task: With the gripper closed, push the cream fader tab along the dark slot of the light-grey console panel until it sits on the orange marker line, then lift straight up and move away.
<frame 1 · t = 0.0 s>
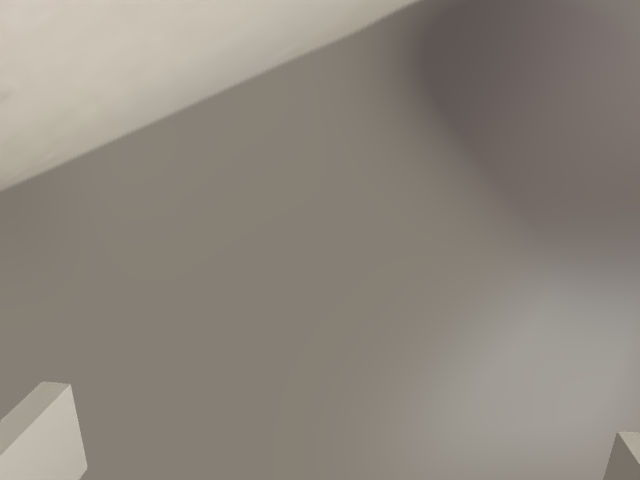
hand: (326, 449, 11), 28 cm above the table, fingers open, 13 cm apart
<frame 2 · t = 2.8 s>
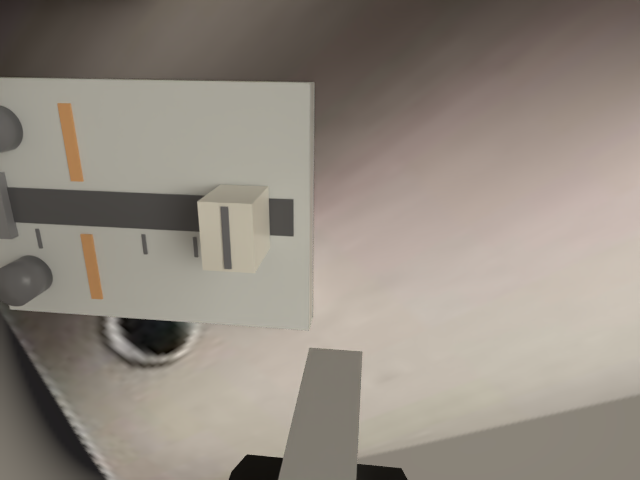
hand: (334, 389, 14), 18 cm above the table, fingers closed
fader: (236, 226, 27), point 4 cm above the table, slide at 0.0 cm
console: (154, 202, 32), on the table
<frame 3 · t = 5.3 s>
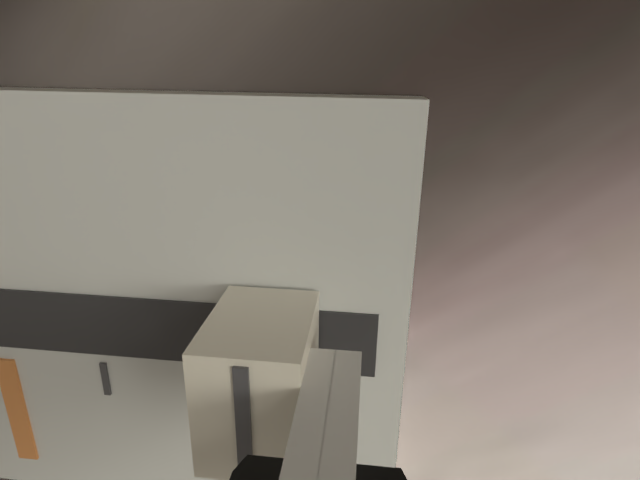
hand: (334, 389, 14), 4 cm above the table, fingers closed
fader: (261, 378, 14), point 4 cm above the table, slide at 0.5 cm, touching gripper
console: (125, 299, 19), on the table
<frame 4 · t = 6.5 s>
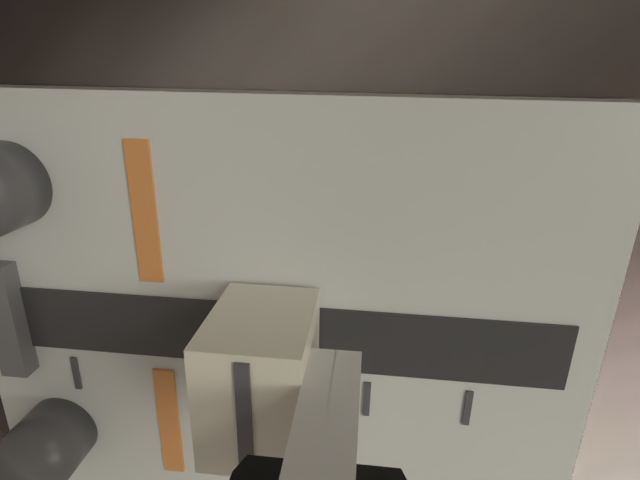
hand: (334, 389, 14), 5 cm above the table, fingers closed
fader: (261, 375, 14), point 4 cm above the table, slide at 6.7 cm, touching gripper
console: (280, 307, 18), on the table
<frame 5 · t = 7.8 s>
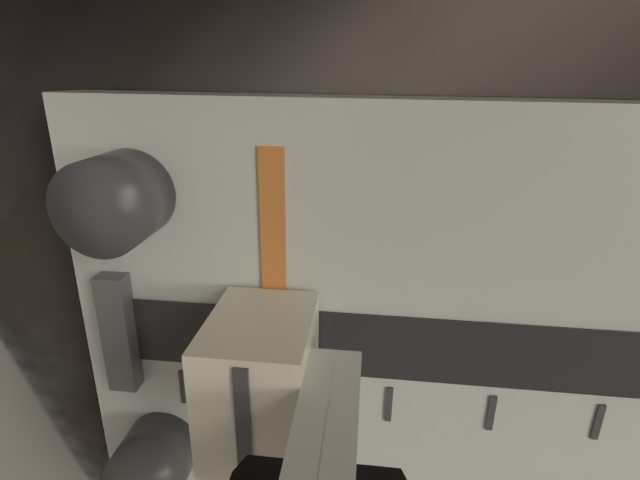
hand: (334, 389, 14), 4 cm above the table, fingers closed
fader: (260, 379, 14), point 4 cm above the table, slide at 11.0 cm, touching gripper
console: (391, 317, 18), on the table
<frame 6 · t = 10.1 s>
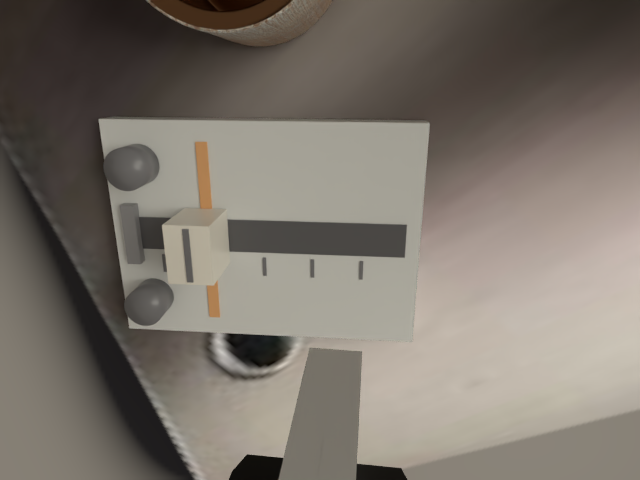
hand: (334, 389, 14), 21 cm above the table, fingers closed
fader: (198, 245, 31), point 4 cm above the table, slide at 11.0 cm
console: (269, 228, 35), on the table
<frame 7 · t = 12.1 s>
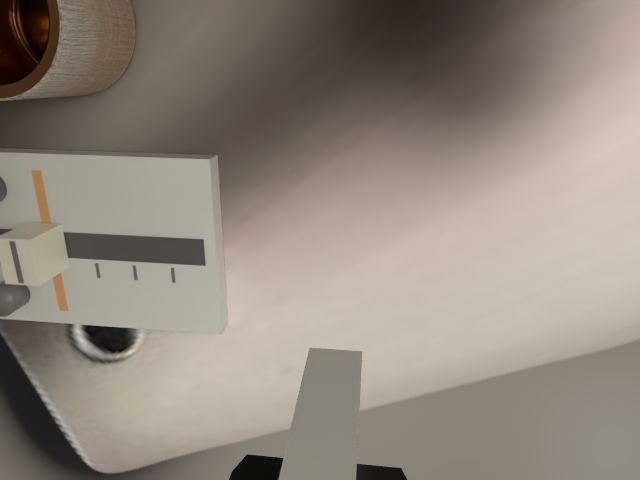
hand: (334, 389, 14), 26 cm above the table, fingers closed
fader: (33, 253, 39), point 4 cm above the table, slide at 11.0 cm
console: (106, 238, 43), on the table
planter: (75, 23, 37), on the table
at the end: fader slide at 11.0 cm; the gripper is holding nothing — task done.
